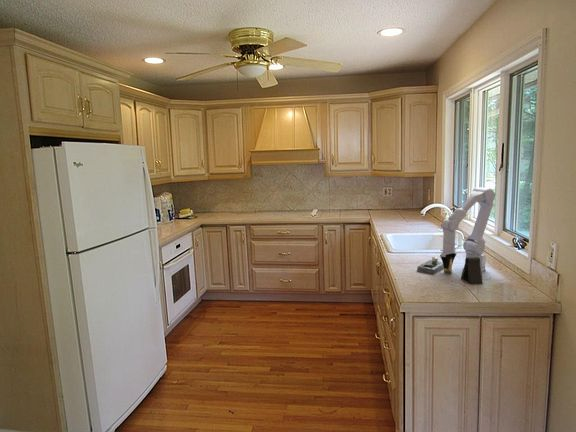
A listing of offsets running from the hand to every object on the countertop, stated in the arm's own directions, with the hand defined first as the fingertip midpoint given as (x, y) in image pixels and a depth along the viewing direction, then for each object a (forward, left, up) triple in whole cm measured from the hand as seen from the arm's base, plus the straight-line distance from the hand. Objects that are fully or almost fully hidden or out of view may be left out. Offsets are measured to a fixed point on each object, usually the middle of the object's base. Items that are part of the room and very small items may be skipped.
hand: (447, 267), depth 207 cm
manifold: (+9, -1, -3) cm, 10 cm away
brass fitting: (0, 0, -3) cm, 3 cm away
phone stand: (-14, +6, -3) cm, 16 cm away
